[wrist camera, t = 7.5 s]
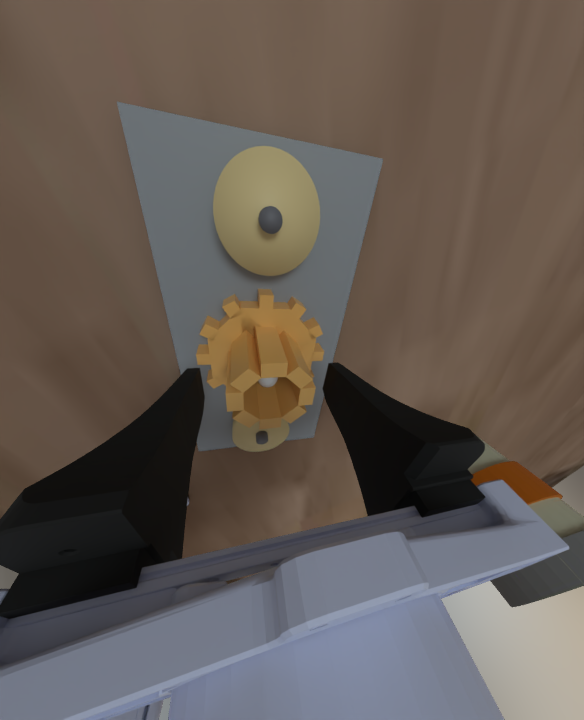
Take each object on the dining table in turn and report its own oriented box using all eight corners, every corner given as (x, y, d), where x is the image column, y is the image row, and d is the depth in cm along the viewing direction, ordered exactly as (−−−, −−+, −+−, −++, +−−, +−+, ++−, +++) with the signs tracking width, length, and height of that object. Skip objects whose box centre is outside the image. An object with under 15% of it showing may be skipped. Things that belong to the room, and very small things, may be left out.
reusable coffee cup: (446, 473, 39) (541, 591, 26) (397, 473, 34) (485, 617, 22) (503, 428, 33) (658, 553, 21) (453, 420, 28) (617, 576, 16)
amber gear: (309, 389, 18) (330, 440, 14) (207, 395, 16) (196, 457, 12) (328, 292, 13) (368, 325, 9) (189, 285, 11) (163, 323, 7)
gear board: (310, 429, 22) (325, 471, 19) (200, 441, 20) (192, 493, 16) (372, 162, 11) (441, 136, 7) (128, 112, 8) (41, 31, 5)
